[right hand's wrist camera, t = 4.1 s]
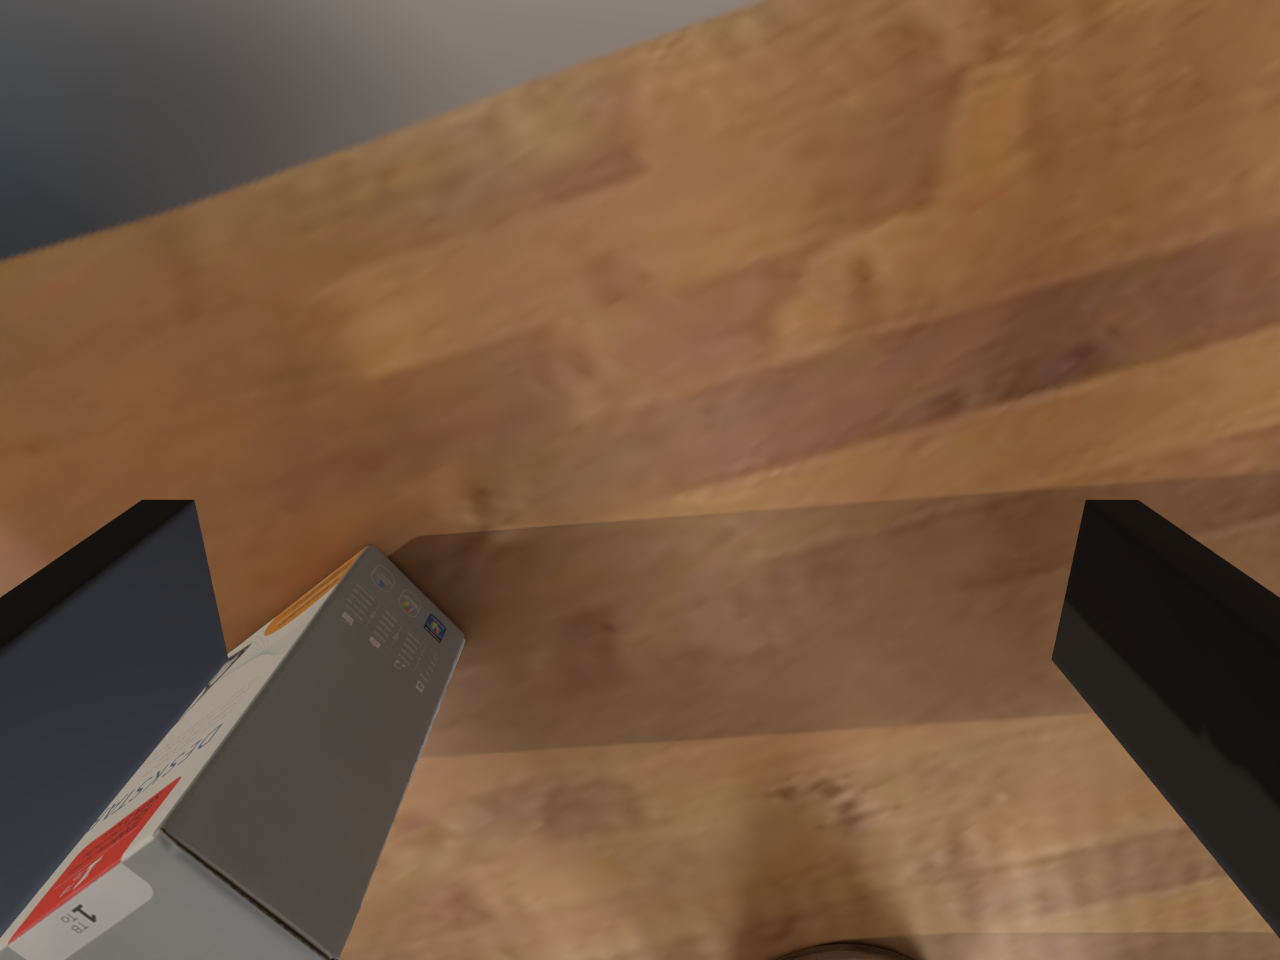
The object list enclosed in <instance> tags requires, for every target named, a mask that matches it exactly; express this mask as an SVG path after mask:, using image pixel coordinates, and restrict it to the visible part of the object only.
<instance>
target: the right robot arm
mask: <svg viewBox="0 0 1280 960" xmlns="http://www.w3.org/2000/svg"><path fill="white" fill-rule="evenodd" d="M227 660H228V655H227V651H226V646H225V641H224V637H223V632H222V627H221V623H220V618H219V613H218V609H217V604H216V599H215V595H214V590H213V585H212V581H211V576H210V571H209V567H208V562H207V557H206V553H205V548H204V543H203V539H202V534H201V529H200V525H199V520H198V515H197V511H196V506H195V501H194V500H141V501H140V502H138V503H137V504H135V505H134V506H133V507H131V508H130V509H128V510H127V511H125V512H124V513H122V514H121V515H120V516H118V517H117V518H115V519H114V520H112V521H111V522H109V523H108V524H107V525H105V526H104V527H102V528H101V529H99V530H98V531H96V532H95V533H93V534H92V535H91V536H89V537H88V538H86V539H85V540H83V541H82V542H80V543H79V544H78V545H76V546H75V547H73V548H72V549H70V550H69V551H67V552H66V553H64V554H63V555H62V556H60V557H59V558H57V559H56V560H54V561H53V562H51V563H50V564H49V565H47V566H46V567H44V568H43V569H41V570H40V571H38V572H37V573H36V574H34V575H33V576H31V577H30V578H28V579H27V580H25V581H24V582H22V583H21V584H20V585H18V586H17V587H15V588H14V589H12V590H11V591H9V592H8V593H7V594H5V595H4V596H2V597H1V598H0V938H1V937H2V935H3V934H4V933H5V932H6V930H7V929H8V928H9V927H10V926H11V924H12V923H13V922H14V921H15V919H16V918H17V917H18V916H19V915H20V913H21V912H22V911H23V910H24V908H25V907H26V906H27V905H28V904H29V902H30V901H31V900H32V899H33V897H34V896H35V895H36V894H37V893H38V891H39V890H40V889H41V888H42V886H43V885H44V884H45V883H46V882H47V880H48V879H49V878H50V877H51V875H52V874H53V873H54V872H55V871H56V869H57V868H58V867H59V866H60V864H61V863H62V862H63V861H64V860H65V858H66V857H67V856H68V855H69V853H70V852H71V851H72V850H73V849H74V847H75V846H76V845H77V844H78V842H79V841H80V840H81V839H82V838H83V836H84V835H85V834H86V833H87V831H88V830H89V829H90V828H91V827H92V825H93V824H94V823H95V822H96V820H97V819H98V818H99V817H100V816H101V814H102V813H103V812H104V811H105V809H106V808H107V807H108V806H109V805H110V803H111V802H112V801H113V800H114V798H115V797H116V796H117V795H118V794H119V792H120V791H121V790H122V789H123V787H124V786H125V785H126V784H127V783H128V781H129V780H130V779H131V778H132V776H133V775H134V774H135V773H136V772H137V770H138V769H139V768H140V767H141V765H142V764H143V763H144V762H145V761H146V759H147V758H148V757H149V756H150V754H151V753H152V752H153V751H154V750H155V748H156V747H157V746H158V745H159V744H160V742H161V741H162V740H163V739H164V737H165V736H166V735H167V734H168V733H169V731H170V730H171V729H172V728H173V726H174V725H175V724H176V723H177V722H178V720H179V719H180V718H181V717H182V715H183V714H184V713H185V712H186V711H187V709H188V708H189V707H190V706H191V704H192V703H193V702H194V701H195V700H196V698H197V697H198V696H199V695H200V693H201V692H202V691H203V690H204V689H205V687H206V686H207V685H208V684H209V682H210V681H211V680H212V679H213V678H214V676H215V675H216V674H217V673H218V671H219V670H220V669H221V668H222V667H223V665H224V664H225V663H226V662H227ZM1052 660H1053V662H1054V663H1055V664H1056V665H1057V667H1058V668H1059V669H1060V670H1061V671H1062V673H1063V674H1064V675H1065V676H1066V678H1067V679H1068V680H1069V681H1070V682H1071V684H1072V685H1073V686H1074V687H1075V689H1076V690H1077V691H1078V692H1079V693H1080V695H1081V696H1082V697H1083V698H1084V700H1085V701H1086V702H1087V703H1088V704H1089V706H1090V707H1091V708H1092V709H1093V711H1094V712H1095V713H1096V714H1097V715H1098V717H1099V718H1100V719H1101V720H1102V722H1103V723H1104V724H1105V725H1106V726H1107V728H1108V729H1109V730H1110V731H1111V733H1112V734H1113V735H1114V736H1115V737H1116V739H1117V740H1118V741H1119V742H1120V744H1121V745H1122V746H1123V747H1124V748H1125V750H1126V751H1127V752H1128V753H1129V754H1130V756H1131V757H1132V758H1133V759H1134V761H1135V762H1136V763H1137V764H1138V765H1139V767H1140V768H1141V769H1142V770H1143V772H1144V773H1145V774H1146V775H1147V776H1148V778H1149V779H1150V780H1151V781H1152V783H1153V784H1154V785H1155V786H1156V787H1157V789H1158V790H1159V791H1160V792H1161V794H1162V795H1163V796H1164V797H1165V798H1166V800H1167V801H1168V802H1169V803H1170V805H1171V806H1172V807H1173V808H1174V809H1175V811H1176V812H1177V813H1178V814H1179V816H1180V817H1181V818H1182V819H1183V820H1184V822H1185V823H1186V824H1187V825H1188V827H1189V828H1190V829H1191V830H1192V831H1193V833H1194V834H1195V835H1196V836H1197V838H1198V839H1199V840H1200V841H1201V842H1202V844H1203V845H1204V846H1205V847H1206V849H1207V850H1208V851H1209V852H1210V853H1211V855H1212V856H1213V857H1214V858H1215V860H1216V861H1217V862H1218V863H1219V864H1220V866H1221V867H1222V868H1223V869H1224V871H1225V872H1226V873H1227V874H1228V875H1229V877H1230V878H1231V879H1232V880H1233V882H1234V883H1235V884H1236V885H1237V886H1238V888H1239V889H1240V890H1241V891H1242V893H1243V894H1244V895H1245V896H1246V897H1247V899H1248V900H1249V901H1250V902H1251V904H1252V905H1253V906H1254V907H1255V908H1256V910H1257V911H1258V912H1259V913H1260V915H1261V916H1262V917H1263V918H1264V919H1265V921H1266V922H1267V923H1268V924H1269V926H1270V927H1271V928H1272V929H1273V930H1274V932H1275V933H1276V934H1277V935H1278V937H1279V938H1280V598H1279V597H1278V596H1276V595H1275V594H1273V593H1272V592H1271V591H1269V590H1268V589H1266V588H1265V587H1263V586H1262V585H1260V584H1259V583H1258V582H1256V581H1255V580H1253V579H1252V578H1250V577H1249V576H1247V575H1246V574H1244V573H1243V572H1242V571H1240V570H1239V569H1237V568H1236V567H1234V566H1233V565H1231V564H1230V563H1229V562H1227V561H1226V560H1224V559H1223V558H1221V557H1220V556H1218V555H1217V554H1216V553H1214V552H1213V551H1211V550H1210V549H1208V548H1207V547H1205V546H1204V545H1202V544H1201V543H1200V542H1198V541H1197V540H1195V539H1194V538H1192V537H1191V536H1189V535H1188V534H1187V533H1185V532H1184V531H1182V530H1181V529H1179V528H1178V527H1176V526H1175V525H1173V524H1172V523H1171V522H1169V521H1168V520H1166V519H1165V518H1163V517H1162V516H1160V515H1159V514H1158V513H1156V512H1155V511H1153V510H1152V509H1150V508H1149V507H1147V506H1146V505H1145V504H1143V503H1142V502H1140V501H1139V500H1086V501H1085V506H1084V511H1083V515H1082V520H1081V525H1080V529H1079V534H1078V539H1077V543H1076V548H1075V553H1074V557H1073V562H1072V567H1071V571H1070V576H1069V581H1068V585H1067V590H1066V595H1065V599H1064V604H1063V609H1062V613H1061V618H1060V623H1059V627H1058V632H1057V637H1056V641H1055V646H1054V651H1053V655H1052ZM777 960H911V959H909V958H907V957H905V956H903V955H901V954H898V953H895V952H893V951H890V950H886V949H882V948H878V947H873V946H867V945H858V944H833V945H824V946H818V947H812V948H808V949H804V950H800V951H797V952H794V953H791V954H788V955H786V956H783V957H781V958H779V959H777Z"/></svg>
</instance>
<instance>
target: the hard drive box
mask: <svg viewBox="0 0 1280 960" xmlns="http://www.w3.org/2000/svg"><path fill="white" fill-rule="evenodd" d="M464 644H465V639H464V634H463V632H462V631H460V630H459V629H458V628H457V627H456V625H455V624H454V623H453V622H452V621H451V620H450V619H449V618H448V617H446V616H445V615H444V614H443V613H442V612H441V611H440V610H439V609H438V607H437V606H435V605H434V604H433V603H432V602H431V601H430V600H429V599H428V598H427V597H426V596H425V595H424V594H423V593H422V592H421V591H420V590H419V589H418V588H417V587H416V586H415V585H414V584H413V583H412V582H411V581H410V580H409V579H408V578H407V577H406V576H405V575H404V574H403V573H402V572H401V571H400V570H399V569H398V568H397V567H396V566H395V565H394V564H393V563H392V562H391V561H390V560H389V559H388V558H387V557H386V556H385V555H384V554H383V553H382V552H381V551H380V550H378V549H377V548H376V547H375V546H374V545H368V546H366V547H365V548H364V549H362V550H361V551H360V552H358V553H357V554H356V555H354V556H353V557H352V558H350V559H349V560H348V561H347V562H345V563H344V564H343V565H342V566H340V567H339V568H338V569H337V570H335V571H334V572H332V573H331V574H330V575H328V576H327V577H326V578H325V579H323V580H322V581H321V582H320V583H318V584H317V585H316V586H314V587H313V588H312V589H311V590H309V591H308V592H307V593H306V594H304V595H303V596H302V597H301V598H299V599H298V600H297V601H295V602H294V603H293V604H291V605H290V606H289V607H288V608H286V609H285V610H284V611H283V612H281V613H280V614H279V615H278V616H276V617H275V618H274V619H272V620H271V621H270V622H268V623H267V624H266V625H264V626H263V627H262V628H261V629H259V630H258V631H257V632H256V633H254V634H253V635H252V636H250V637H249V638H248V639H247V640H245V641H244V642H243V643H241V644H240V645H239V646H238V647H236V648H235V649H233V650H232V651H231V652H229V653H228V654H227V655H228V660H227V662H226V663H225V664H224V665H223V667H222V668H221V669H220V670H219V671H218V673H217V674H216V675H215V676H214V678H213V679H212V680H211V681H210V682H209V684H208V685H207V686H206V687H205V689H204V690H203V691H202V692H201V693H200V695H199V696H198V697H197V698H196V700H195V701H194V702H193V703H192V704H191V706H190V707H189V708H188V709H187V711H186V712H185V713H184V714H183V715H182V717H181V718H180V719H179V720H178V722H177V723H176V724H175V725H174V726H173V728H172V729H171V730H170V731H169V733H168V734H167V735H166V736H165V737H164V739H163V740H162V741H161V742H160V744H159V745H158V746H157V747H156V748H155V750H154V751H153V752H152V753H151V754H150V756H149V757H148V758H147V759H146V761H145V762H144V763H143V764H142V765H141V767H140V768H139V769H138V770H137V772H136V773H135V774H134V775H133V776H132V778H131V779H130V780H129V781H128V783H127V784H126V785H125V786H124V787H123V789H122V790H121V791H120V792H119V794H118V795H117V796H116V797H115V798H114V800H113V801H112V802H111V803H110V805H109V806H108V807H107V808H106V809H105V811H104V812H103V813H102V814H101V816H100V817H99V818H98V819H97V820H96V822H95V823H94V824H93V825H92V827H91V828H90V829H89V830H88V831H87V833H86V834H85V835H84V836H83V838H82V839H81V840H80V841H79V842H78V844H77V845H76V846H75V847H74V849H73V850H72V851H71V852H70V853H69V855H68V856H67V857H66V858H65V860H64V861H63V862H62V863H61V864H60V866H59V867H58V868H57V869H56V871H55V872H54V873H53V874H52V875H51V877H50V878H49V879H48V880H47V882H46V883H45V884H44V885H43V886H42V888H41V889H40V890H39V891H38V893H37V894H36V895H35V896H34V897H33V899H32V900H31V901H30V902H29V904H28V905H27V906H26V907H25V908H24V910H23V911H22V912H21V913H20V915H19V916H18V917H17V918H16V919H15V921H14V922H13V923H12V924H11V926H10V927H9V928H8V929H7V930H6V932H5V933H4V934H3V935H2V937H1V938H0V960H338V959H339V958H340V955H341V953H342V950H343V948H344V945H345V943H346V940H347V938H348V936H349V933H350V931H351V928H352V926H353V923H354V921H355V918H356V915H357V914H358V912H359V910H360V907H361V903H362V900H363V898H364V896H365V893H366V890H367V888H368V885H369V883H370V880H371V878H372V875H373V872H374V870H375V867H376V865H377V862H378V860H379V857H380V855H381V852H382V850H383V847H384V845H385V842H386V839H387V837H388V834H389V832H390V829H391V827H392V824H393V822H394V819H395V817H396V814H397V812H398V809H399V807H400V804H401V802H402V799H403V797H404V794H405V792H406V790H407V787H408V785H409V782H410V780H411V777H412V775H413V772H414V770H415V767H416V765H417V762H418V760H419V757H420V755H421V752H422V750H423V747H424V745H425V742H426V740H427V737H428V735H429V732H430V730H431V727H432V725H433V722H434V720H435V717H436V715H437V712H438V710H439V707H440V705H441V702H442V700H443V697H444V695H445V692H446V690H447V687H448V685H449V682H450V680H451V677H452V675H453V672H454V670H455V667H456V665H457V662H458V660H459V657H460V655H461V652H462V649H463V647H464Z"/></svg>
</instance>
